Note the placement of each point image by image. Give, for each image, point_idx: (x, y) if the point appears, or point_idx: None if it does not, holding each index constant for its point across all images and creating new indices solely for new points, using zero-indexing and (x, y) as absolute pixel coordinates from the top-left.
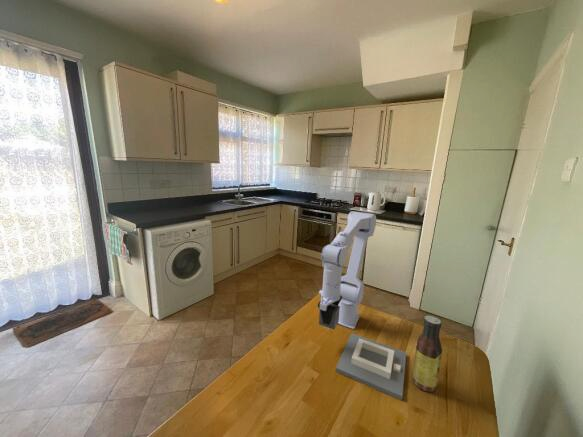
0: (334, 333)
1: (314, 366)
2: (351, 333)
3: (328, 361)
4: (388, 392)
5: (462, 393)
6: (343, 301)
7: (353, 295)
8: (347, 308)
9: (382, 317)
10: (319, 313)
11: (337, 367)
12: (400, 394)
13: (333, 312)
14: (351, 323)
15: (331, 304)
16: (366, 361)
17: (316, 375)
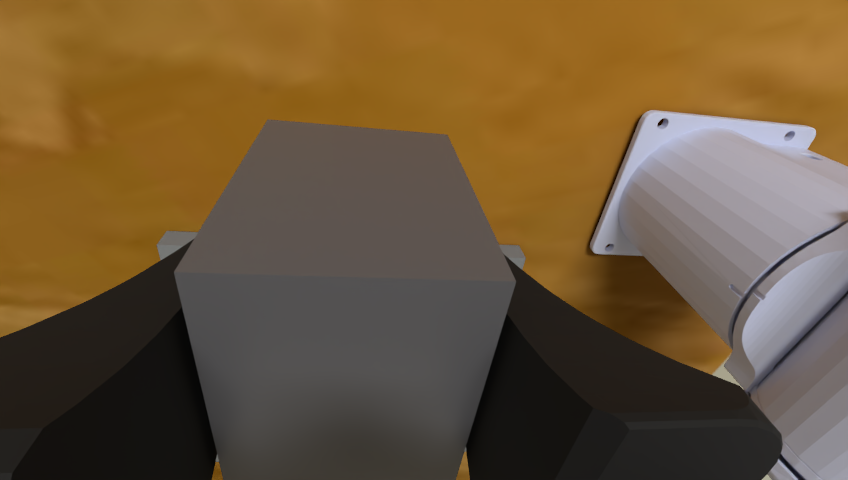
0: (511, 143)
1: (94, 99)
2: (521, 258)
3: (212, 174)
4: None
5: None
6: (798, 284)
7: (823, 461)
8: (710, 290)
9: (729, 349)
10: (224, 194)
11: (167, 251)
12: (217, 457)
13: (223, 472)
14: (630, 240)
15: (455, 401)
16: None
17: (34, 136)
